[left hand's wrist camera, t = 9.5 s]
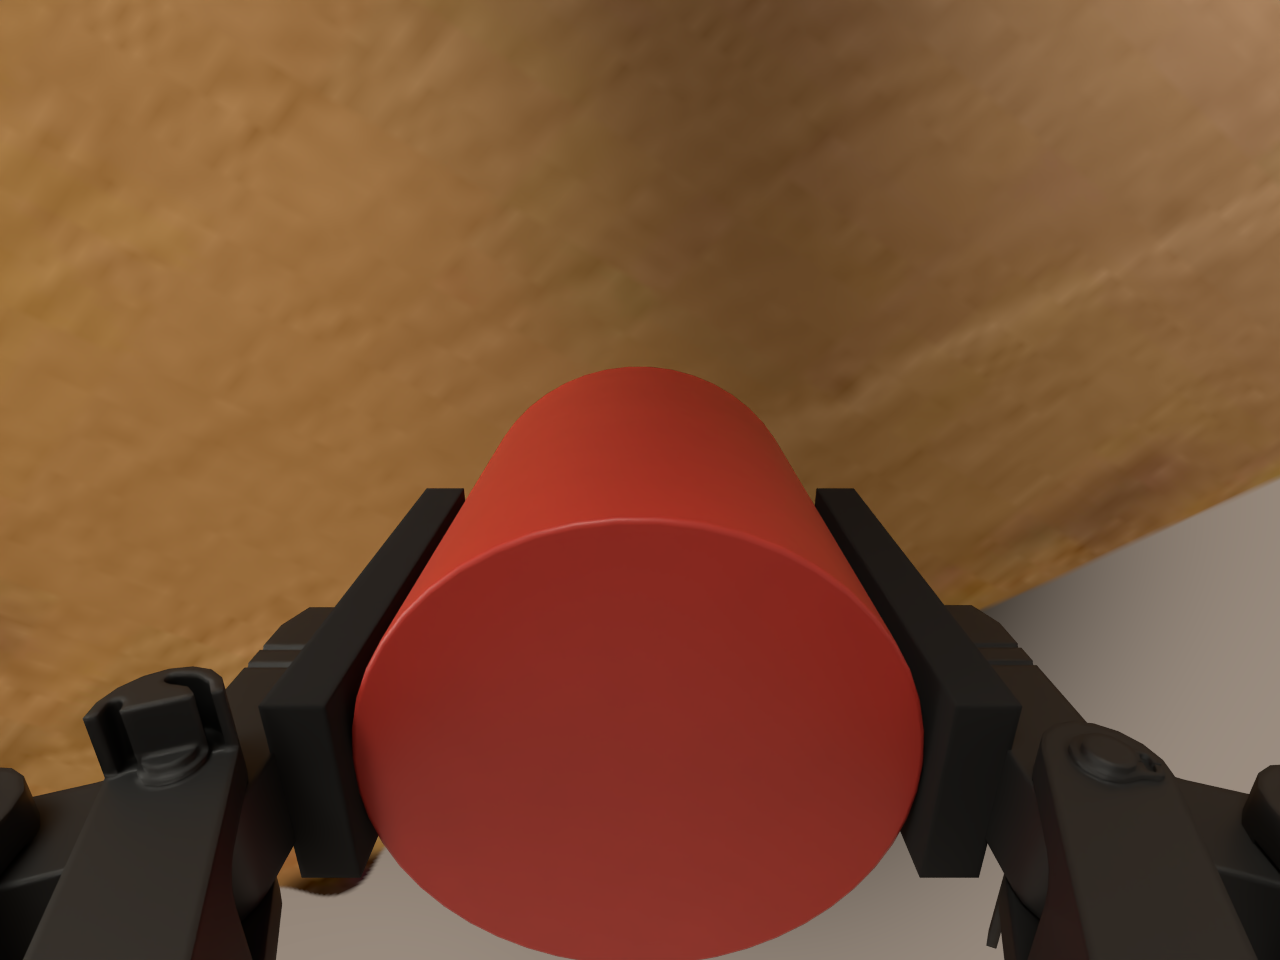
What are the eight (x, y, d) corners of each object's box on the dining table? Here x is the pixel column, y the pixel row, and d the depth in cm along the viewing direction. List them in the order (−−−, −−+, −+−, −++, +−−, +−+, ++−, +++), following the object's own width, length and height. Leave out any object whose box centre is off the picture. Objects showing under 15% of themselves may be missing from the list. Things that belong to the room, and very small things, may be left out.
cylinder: (770, 656, 17) (866, 978, 10) (485, 640, 17) (371, 956, 10) (817, 377, 14) (992, 539, 7) (481, 354, 14) (320, 497, 7)
